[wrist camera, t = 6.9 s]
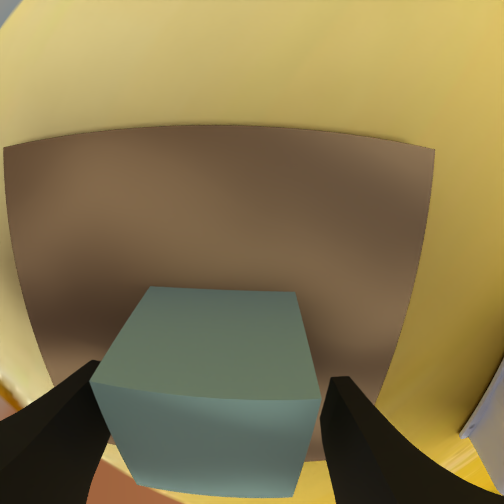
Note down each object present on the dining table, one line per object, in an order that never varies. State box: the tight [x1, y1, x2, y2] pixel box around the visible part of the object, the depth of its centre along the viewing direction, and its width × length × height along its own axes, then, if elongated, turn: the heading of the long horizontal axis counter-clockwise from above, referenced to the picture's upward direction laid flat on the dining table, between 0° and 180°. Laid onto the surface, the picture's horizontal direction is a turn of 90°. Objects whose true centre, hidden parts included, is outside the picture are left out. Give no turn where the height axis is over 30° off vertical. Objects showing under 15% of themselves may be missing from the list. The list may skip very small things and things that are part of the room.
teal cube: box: [89, 286, 322, 498], centre depth 9 cm, size 5×5×5 cm
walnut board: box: [3, 125, 435, 462], centre depth 12 cm, size 16×16×2 cm
